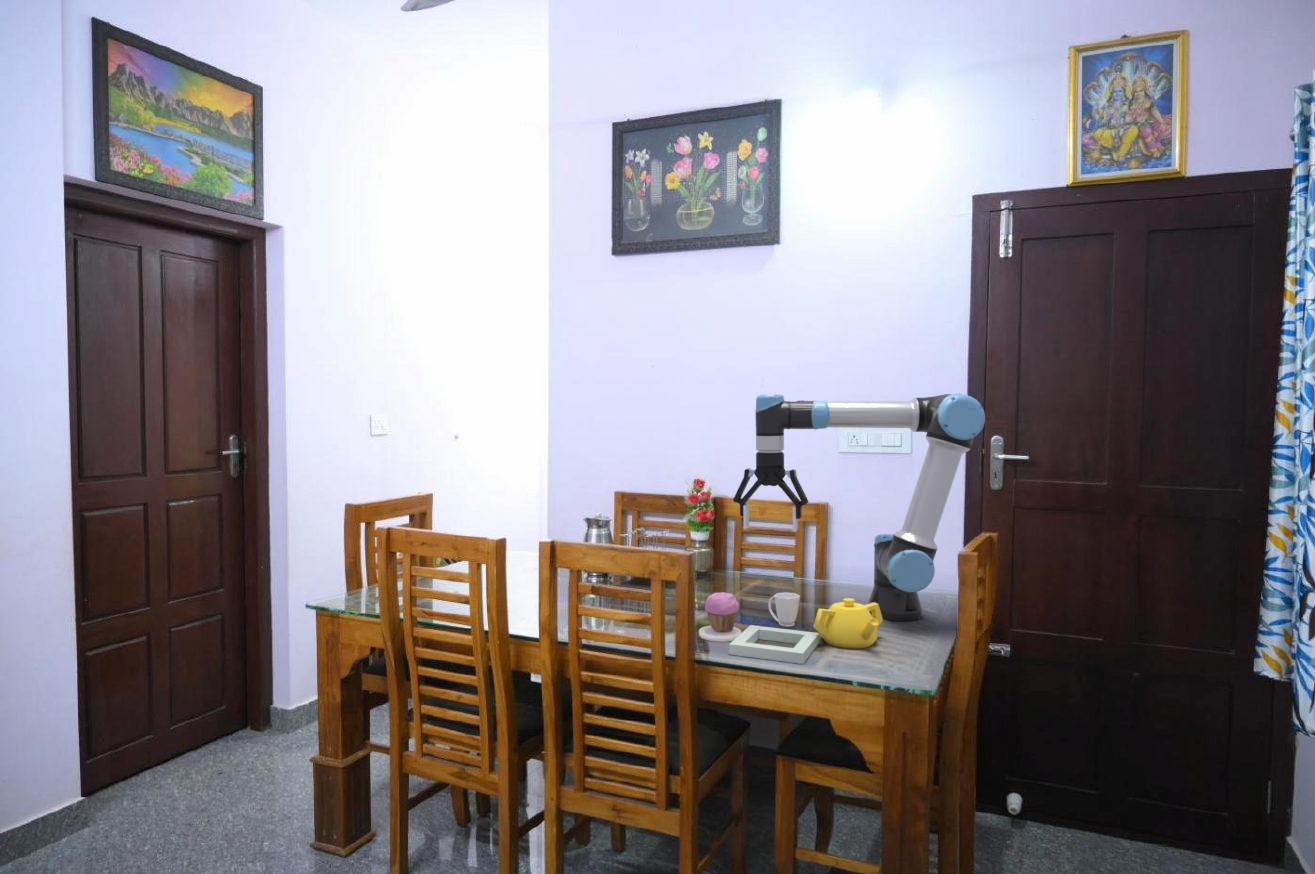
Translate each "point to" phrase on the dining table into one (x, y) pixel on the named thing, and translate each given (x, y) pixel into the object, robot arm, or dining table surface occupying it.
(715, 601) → the cupcake
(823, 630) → the teapot
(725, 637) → the plate
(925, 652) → the dining table surface
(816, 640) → the frame
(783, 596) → the cup
